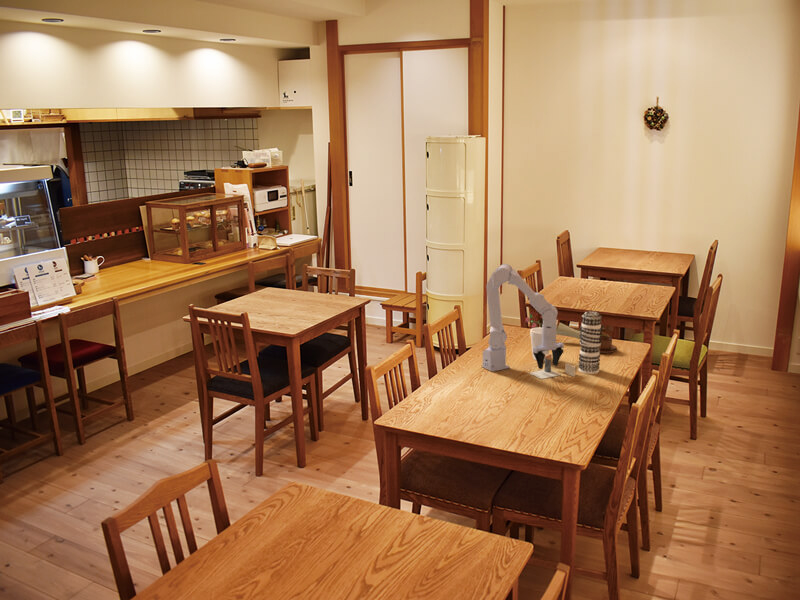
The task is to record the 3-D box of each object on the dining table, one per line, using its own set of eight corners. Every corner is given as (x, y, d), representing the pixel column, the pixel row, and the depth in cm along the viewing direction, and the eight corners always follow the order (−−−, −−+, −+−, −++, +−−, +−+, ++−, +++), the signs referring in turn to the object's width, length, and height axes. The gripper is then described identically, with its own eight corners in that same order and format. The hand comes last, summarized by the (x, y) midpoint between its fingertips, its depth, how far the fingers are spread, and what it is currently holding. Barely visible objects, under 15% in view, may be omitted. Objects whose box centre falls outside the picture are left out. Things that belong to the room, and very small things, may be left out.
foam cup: (552, 362, 308) (554, 333, 305) (531, 362, 309) (532, 333, 306) (548, 355, 318) (549, 327, 315) (528, 355, 318) (528, 327, 315)
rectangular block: (574, 376, 291) (575, 366, 290) (573, 376, 291) (573, 367, 290) (566, 372, 296) (567, 363, 295) (565, 372, 295) (565, 363, 294)
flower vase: (590, 362, 331) (518, 339, 341) (596, 347, 340) (525, 325, 350) (596, 342, 324) (522, 319, 334) (602, 328, 333) (529, 306, 344)
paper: (541, 379, 288) (541, 378, 288) (529, 373, 295) (529, 372, 295) (560, 375, 292) (560, 374, 292) (548, 369, 299) (548, 368, 299)
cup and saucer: (617, 356, 316) (618, 342, 315) (589, 354, 319) (590, 341, 317) (615, 347, 328) (616, 335, 326) (588, 346, 330) (589, 333, 329)
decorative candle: (574, 372, 296) (577, 314, 290) (580, 365, 304) (583, 309, 298) (597, 375, 292) (600, 316, 286) (602, 368, 300) (605, 311, 294)
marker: (547, 372, 295) (547, 356, 293) (543, 370, 297) (543, 354, 295) (552, 371, 296) (553, 355, 294) (548, 369, 298) (548, 353, 297)
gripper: (541, 340, 286) (539, 372, 289) (569, 335, 293) (567, 366, 296) (530, 336, 292) (529, 367, 296) (558, 331, 299) (556, 361, 302)
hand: (547, 366), depth 296 cm, fingers open, 7 cm apart
